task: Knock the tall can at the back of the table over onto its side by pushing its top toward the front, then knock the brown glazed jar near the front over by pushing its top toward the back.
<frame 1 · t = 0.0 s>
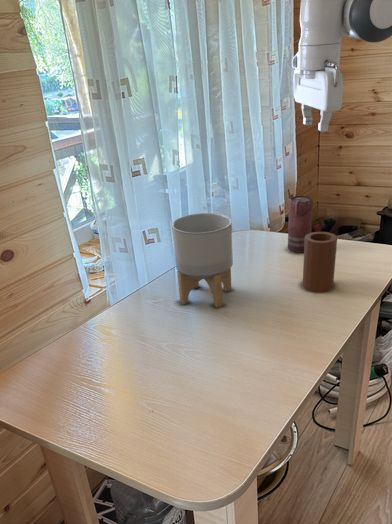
hand: (315, 128, 119), 32 cm above the table, tool pointing down, fingers open, 8 cm apart
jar: (317, 285, 122), on the table
can: (298, 249, 142), on the table
planter: (206, 296, 121), on the table
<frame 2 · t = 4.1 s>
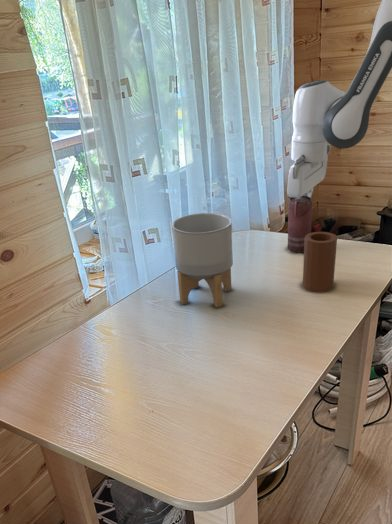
hand: (305, 205, 139), 11 cm above the table, tool pointing down, fingers closed
can: (298, 249, 142), on the table, touching gripper
everything else where it was.
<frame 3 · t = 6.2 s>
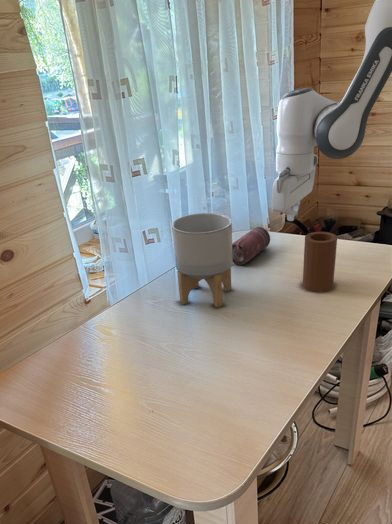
hand: (292, 219, 132), 10 cm above the table, tool pointing down, fingers closed
can: (261, 236, 143), point 3 cm above the table
everything else where it was.
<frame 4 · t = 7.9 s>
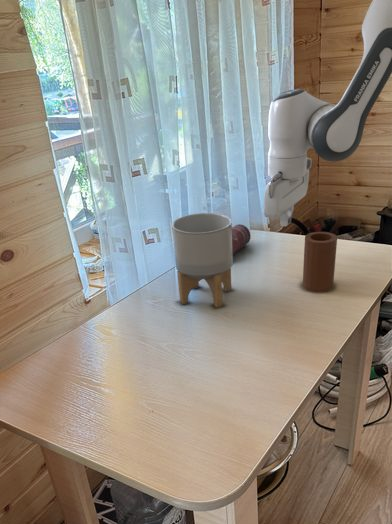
hand: (285, 224, 128), 11 cm above the table, tool pointing down, fingers closed
can: (241, 234, 146), point 3 cm above the table
everything else where it was.
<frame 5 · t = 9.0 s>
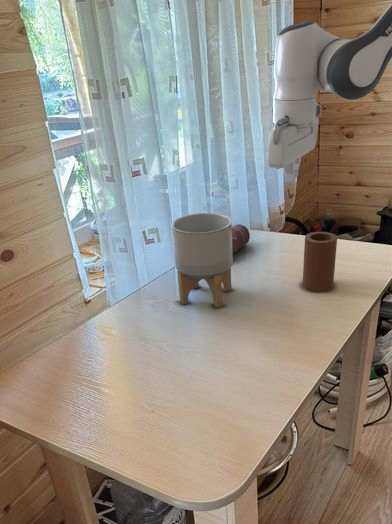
hand: (291, 179, 116), 23 cm above the table, tool pointing down, fingers closed
nothing on the table moved.
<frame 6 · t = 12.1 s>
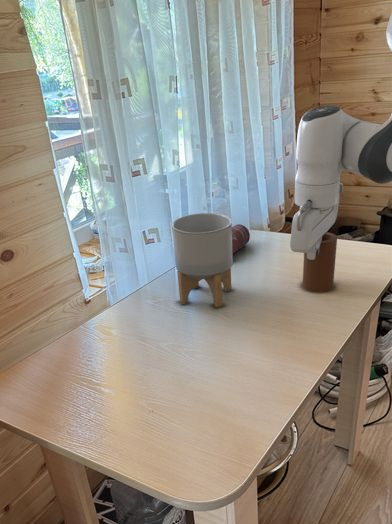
hand: (312, 257, 113), 9 cm above the table, tool pointing down, fingers closed
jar: (317, 285, 122), on the table, touching gripper
everything else where it was.
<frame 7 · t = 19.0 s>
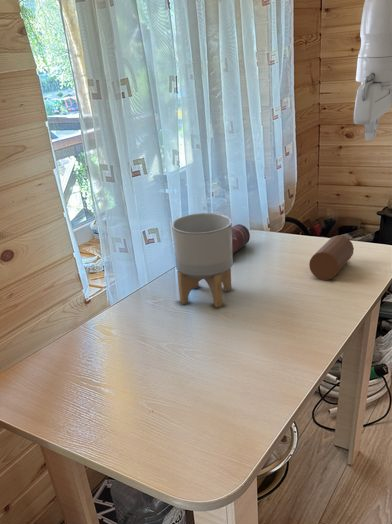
hand: (370, 139, 119), 29 cm above the table, tool pointing down, fingers closed
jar: (323, 266, 122), point 3 cm above the table, tilted 90°
everything else where it was.
at the end: can tilted 90°; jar tilted 90°; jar point 3.5 cm above the table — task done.
